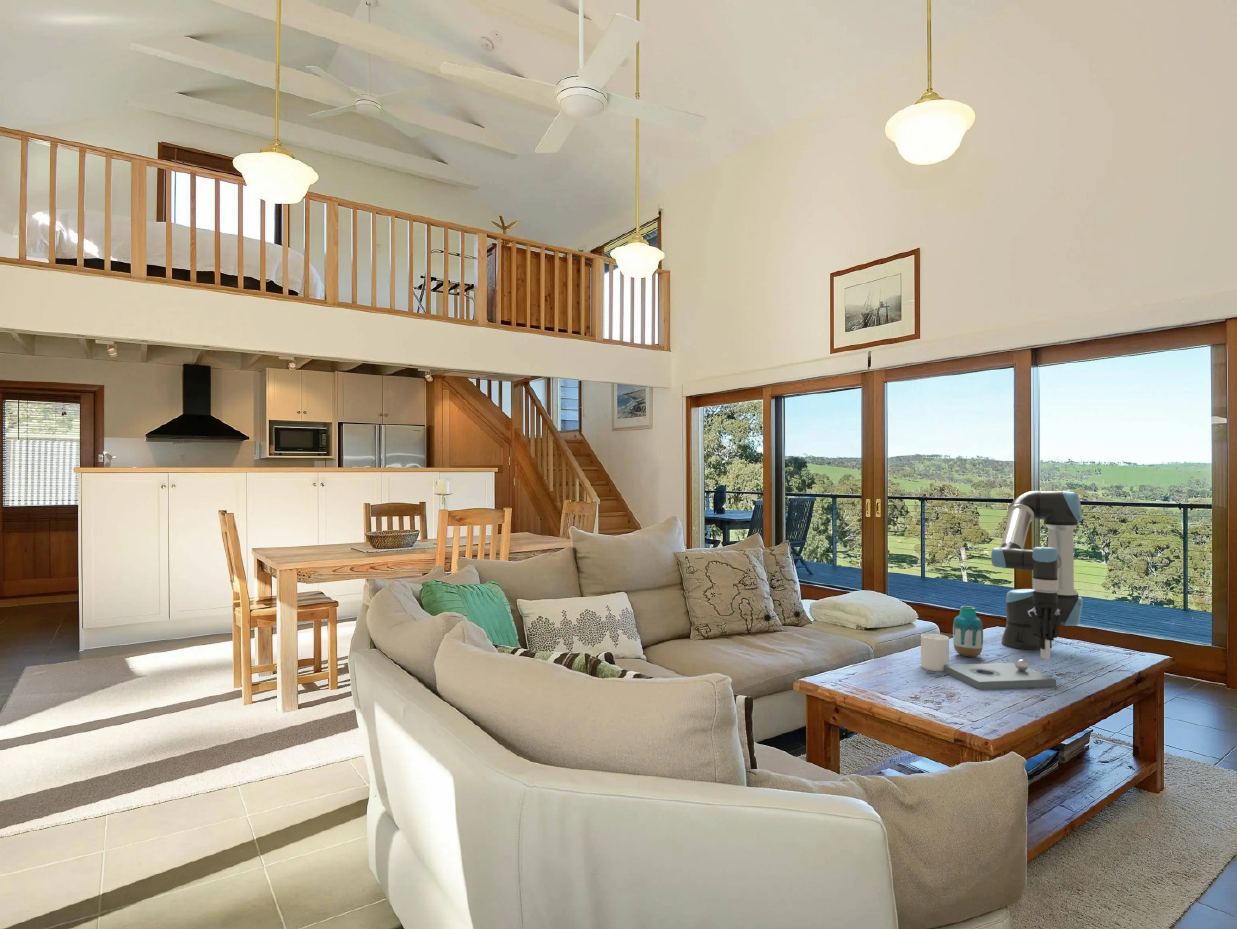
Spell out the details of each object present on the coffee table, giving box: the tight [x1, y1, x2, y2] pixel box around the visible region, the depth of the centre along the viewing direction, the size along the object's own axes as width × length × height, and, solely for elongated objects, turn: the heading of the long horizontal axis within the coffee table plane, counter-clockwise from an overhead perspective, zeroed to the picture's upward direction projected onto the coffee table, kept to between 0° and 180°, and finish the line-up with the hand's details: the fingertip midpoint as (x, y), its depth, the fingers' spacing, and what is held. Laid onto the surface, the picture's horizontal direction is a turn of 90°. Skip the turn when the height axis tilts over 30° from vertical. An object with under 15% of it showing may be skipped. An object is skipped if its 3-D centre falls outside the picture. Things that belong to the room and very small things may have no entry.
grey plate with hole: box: [943, 662, 1057, 690], centre depth 239 cm, size 28×20×2 cm
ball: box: [1014, 658, 1029, 671], centre depth 240 cm, size 4×4×4 cm
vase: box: [952, 605, 984, 658], centre depth 269 cm, size 11×11×19 cm
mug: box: [920, 633, 950, 672], centre depth 254 cm, size 10×12×12 cm
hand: (1045, 657), depth 241 cm, fingers closed
